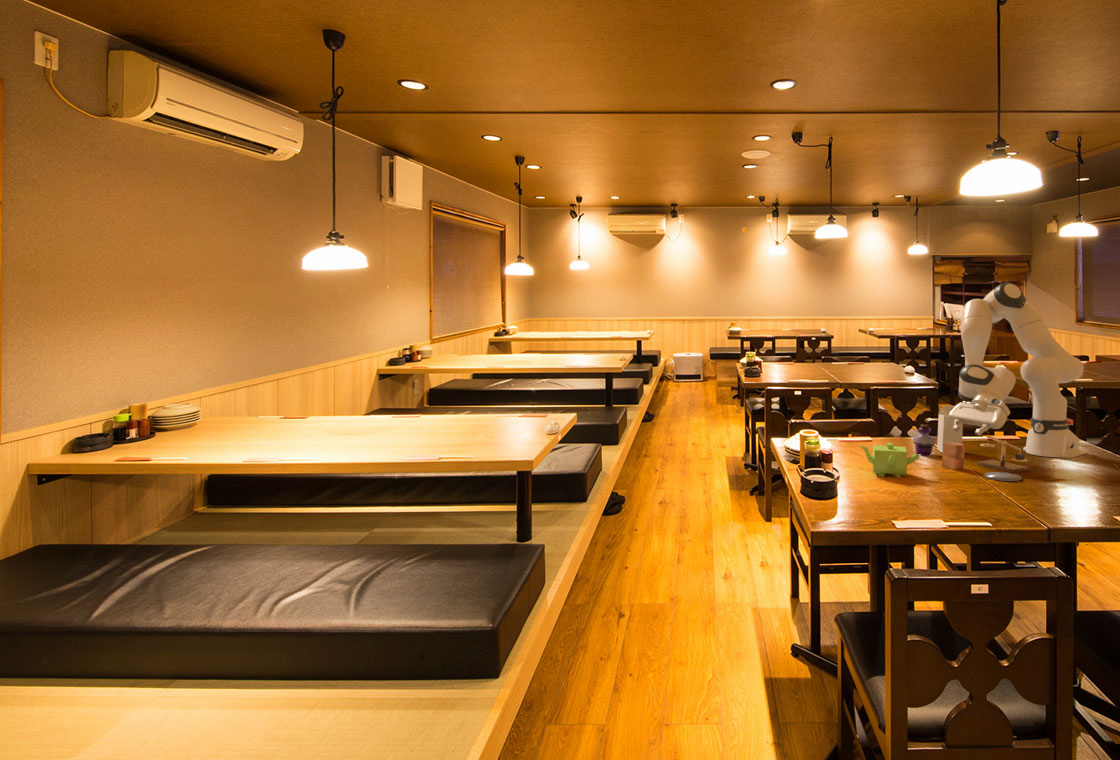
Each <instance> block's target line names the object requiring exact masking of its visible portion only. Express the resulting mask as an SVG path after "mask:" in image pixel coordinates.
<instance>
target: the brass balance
mask: <svg viewBox="0 0 1120 760" xmlns="http://www.w3.org/2000/svg"><path fill="white" fill-rule="evenodd" d="M986 438H987V441H986V442H987V443H980V444H979V446H980V447H982V448H988V449H993V448H996V444H992V443H989V440H993V441H995V442H996V443H999V444H1000V445H1001V451H1000V460H997V459H987V460H980V461H979V460H978V461H977V465H978V466H980V465H981V467H985V466H987V467H986V468H990V467H992V468H991V469H994V468H996V469H995V470H999V469H1001V470H1000V471H1003V470H1005V471H1004V472H1008V471H1010V472H1009V473H1012V472H1015V473H1021V472H1025V471H1024V470H1027V471H1029V466H1025V465H1020V464H1016V463H1017V462H1018V463H1028V462H1029V459H1028V458H1025V454H1023V453H1021V452H1022V448H1020V447H1018V446H1015V445H1013V444H1010V443H1009V442H1008V441H1007V440H1001V439H999V438H995V437H994V436H991V435H987V436H986ZM1007 447H1009V448H1011V449H1014V450H1016V451H1018V452H1019V453H1015V455H1014V456H1015V457H1012V458H1011V461H1012V462H1015V463H1011V462H1006V449H1007ZM1020 471H1021V472H1020Z"/></svg>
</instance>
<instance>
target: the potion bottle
mask: <svg viewBox="0 0 1120 760" xmlns="http://www.w3.org/2000/svg"><path fill="white" fill-rule="evenodd" d="M931 431H932V428H931V427H930V425H929V424H920V427H918V432H919V433H920V434H918V435H914V436H912V441H913V445H914V448H915V454H921V455H920V456H922V455H930V454H931V455H932V453H933V449H934V447H935V445H936V442H937V437H934V436H932V435H930V434H929V433H931ZM931 455H930V456H931Z"/></svg>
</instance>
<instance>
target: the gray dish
mask: <svg viewBox="0 0 1120 760" xmlns="http://www.w3.org/2000/svg"><path fill="white" fill-rule="evenodd" d="M984 477H985V478H986V479H988V478H989V479H988V480H991V479H993V481H996V480H999V481H998V482H1004V481H1009V482H1008V483H1012V482H1011V481H1017V482H1021V481H1022V476H1021V475H1019V474H1015V473H1012V472H1006V471H987V472H985V473H984ZM1020 480H1021V481H1020Z"/></svg>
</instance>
